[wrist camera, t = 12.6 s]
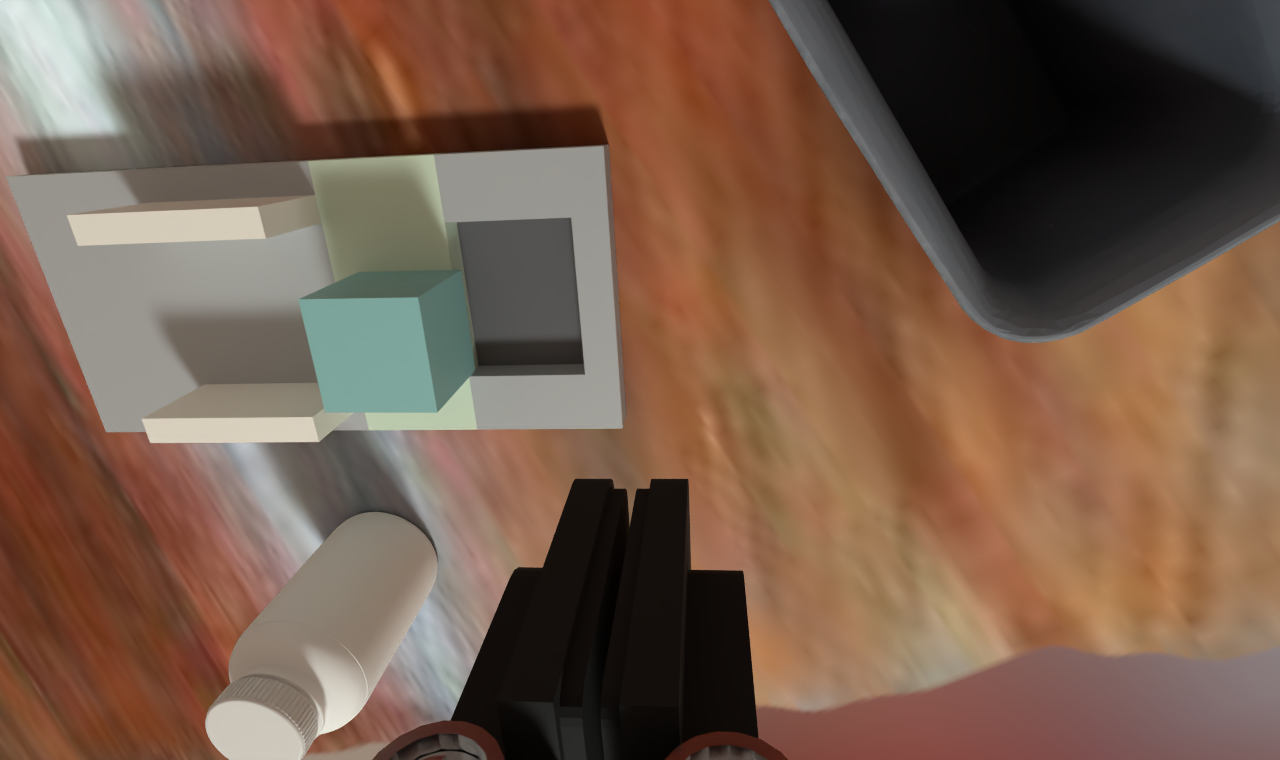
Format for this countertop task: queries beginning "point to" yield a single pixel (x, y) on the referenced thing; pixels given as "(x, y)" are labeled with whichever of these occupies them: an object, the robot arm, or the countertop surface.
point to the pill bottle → (323, 640)
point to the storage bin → (1058, 140)
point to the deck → (317, 257)
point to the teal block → (389, 341)
